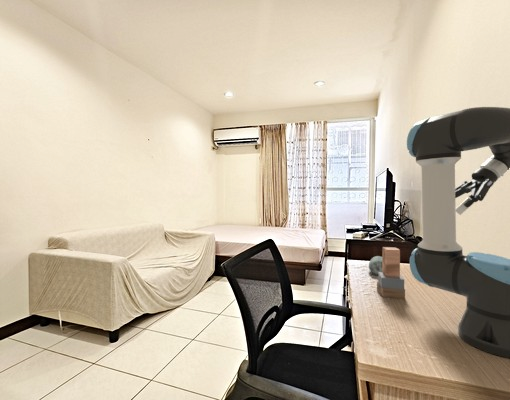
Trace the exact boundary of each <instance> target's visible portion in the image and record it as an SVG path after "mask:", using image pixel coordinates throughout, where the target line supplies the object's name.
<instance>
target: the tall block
mask: <svg viewBox="0 0 510 400" xmlns="http://www.w3.org/2000/svg"><path fill="white" fill-rule="evenodd" d="M381 252H382V256H381V257H382V273H383V274H384V275H385V276H386V277H398V278H400V275H401V249H399V248H397V247H394V246H393V247H391V246H382V251H381Z"/></svg>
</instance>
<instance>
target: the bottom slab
mask: <svg viewBox="0 0 510 400" xmlns="http://www.w3.org/2000/svg"><path fill="white" fill-rule="evenodd" d="M376 291H377V292H378V293H379V295H380V296H381V297H382V298H385V299H404V300H405V299H406V289H405V288H404V290H401V289H390V288H381V286H380V284H379V282H378V281H376Z"/></svg>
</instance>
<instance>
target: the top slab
mask: <svg viewBox="0 0 510 400" xmlns="http://www.w3.org/2000/svg"><path fill="white" fill-rule="evenodd" d="M377 282H379V284H380V286H381V288H390V289H401V290H404V289H405V279H404V277H403V276H402V275H401V274H400V278H398V277H386V276H385V275H384V274H383V273H382V272H378V275H377Z"/></svg>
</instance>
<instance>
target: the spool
mask: <svg viewBox="0 0 510 400" xmlns="http://www.w3.org/2000/svg"><path fill="white" fill-rule="evenodd" d="M368 269H369V271H370V272H371V273H373V274H374V275H376V276H378V272H382V256H380V255H376V256H373V257H371V259H370V260H369V263H368Z"/></svg>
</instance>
